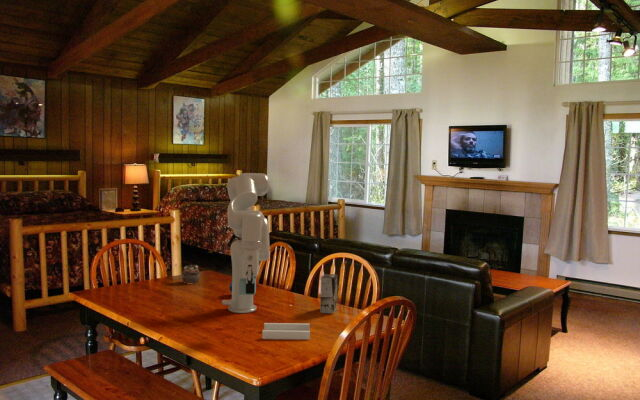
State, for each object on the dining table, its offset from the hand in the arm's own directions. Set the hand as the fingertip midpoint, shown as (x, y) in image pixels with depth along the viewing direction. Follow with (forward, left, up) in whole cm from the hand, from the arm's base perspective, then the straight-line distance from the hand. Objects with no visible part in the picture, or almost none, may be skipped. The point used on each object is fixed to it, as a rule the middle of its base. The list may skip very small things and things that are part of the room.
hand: (250, 290), depth 209 cm
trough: (+14, 0, -17) cm, 22 cm away
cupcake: (-41, +87, -17) cm, 98 cm away
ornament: (-12, +60, -17) cm, 63 cm away
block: (-1, 0, -1) cm, 2 cm away
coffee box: (+32, +35, -17) cm, 50 cm away
